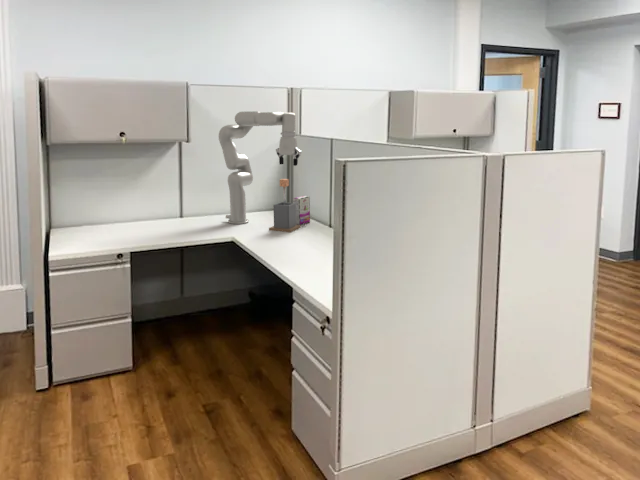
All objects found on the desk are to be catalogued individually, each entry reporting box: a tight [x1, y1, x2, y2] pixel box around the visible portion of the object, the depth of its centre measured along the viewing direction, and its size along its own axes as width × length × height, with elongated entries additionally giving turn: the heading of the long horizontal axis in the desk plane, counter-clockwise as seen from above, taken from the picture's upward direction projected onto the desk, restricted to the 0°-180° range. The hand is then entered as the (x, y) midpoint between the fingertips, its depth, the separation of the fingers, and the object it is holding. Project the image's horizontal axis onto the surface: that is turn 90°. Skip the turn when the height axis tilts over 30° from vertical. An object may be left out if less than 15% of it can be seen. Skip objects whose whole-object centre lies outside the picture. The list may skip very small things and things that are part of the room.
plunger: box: [279, 178, 290, 205], centre depth 349 cm, size 7×7×19 cm
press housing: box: [268, 201, 302, 233], centre depth 352 cm, size 14×14×15 cm
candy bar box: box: [292, 195, 311, 226], centre depth 369 cm, size 11×5×16 cm, turn 146°
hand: (288, 164), depth 347 cm, fingers open, 9 cm apart
